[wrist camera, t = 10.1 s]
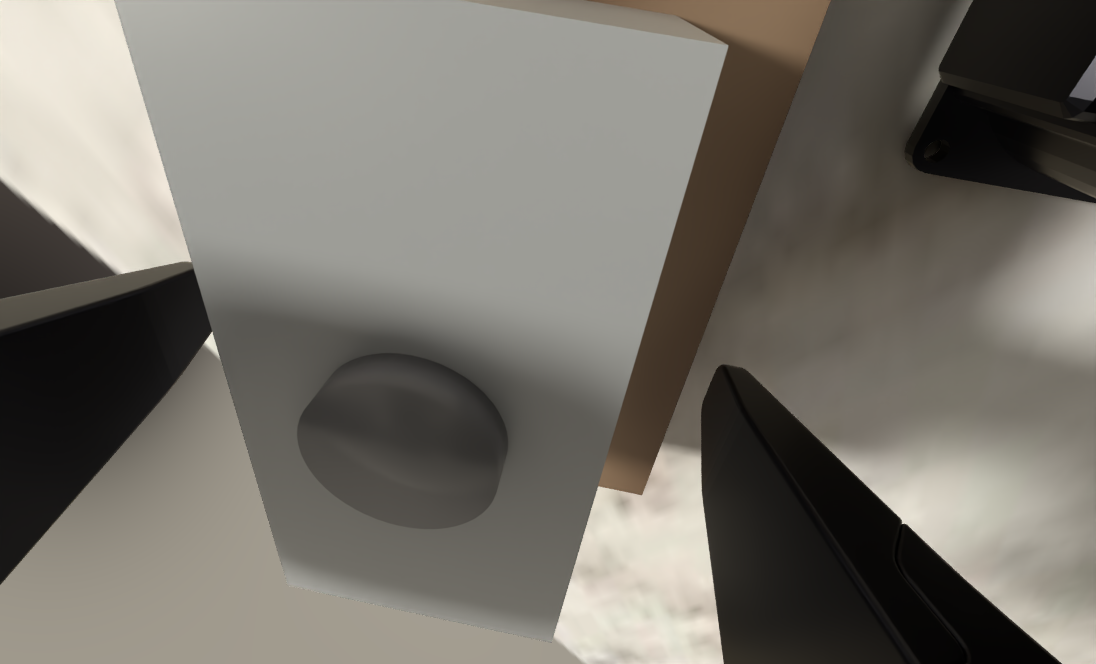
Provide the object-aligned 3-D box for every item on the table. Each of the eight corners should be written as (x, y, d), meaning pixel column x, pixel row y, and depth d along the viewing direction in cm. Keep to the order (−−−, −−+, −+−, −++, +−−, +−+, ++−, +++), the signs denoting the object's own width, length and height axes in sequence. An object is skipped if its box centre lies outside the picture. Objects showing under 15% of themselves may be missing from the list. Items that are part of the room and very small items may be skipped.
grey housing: (579, 421, 15) (546, 677, 9) (403, 387, 15) (269, 617, 9) (676, 15, 9) (741, 53, 3) (388, -33, 9) (23, -68, 4)
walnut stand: (825, -118, 10) (889, -154, 7) (640, 427, 18) (642, 495, 16) (328, -195, 10) (232, -255, 8) (373, 373, 19) (333, 432, 16)
